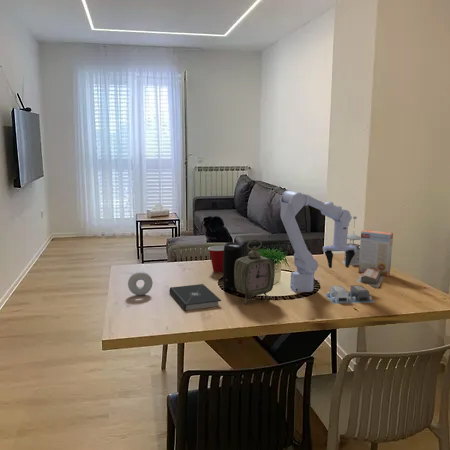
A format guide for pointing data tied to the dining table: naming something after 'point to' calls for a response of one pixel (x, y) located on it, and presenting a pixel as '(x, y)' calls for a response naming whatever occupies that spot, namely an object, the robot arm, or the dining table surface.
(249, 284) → the tabletop clock
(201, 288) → the book
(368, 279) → the packaged product
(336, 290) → the seated drive
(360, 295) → the loose drive
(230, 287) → the portable speaker
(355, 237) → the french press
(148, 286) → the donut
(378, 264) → the cracker box
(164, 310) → the dining table surface
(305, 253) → the robot arm
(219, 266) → the plastic cup
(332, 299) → the drive tray
